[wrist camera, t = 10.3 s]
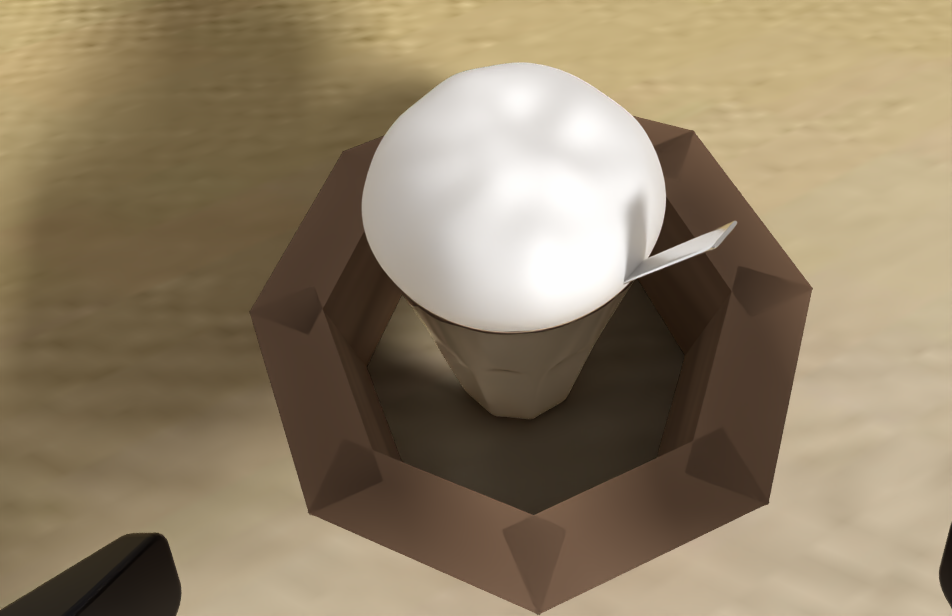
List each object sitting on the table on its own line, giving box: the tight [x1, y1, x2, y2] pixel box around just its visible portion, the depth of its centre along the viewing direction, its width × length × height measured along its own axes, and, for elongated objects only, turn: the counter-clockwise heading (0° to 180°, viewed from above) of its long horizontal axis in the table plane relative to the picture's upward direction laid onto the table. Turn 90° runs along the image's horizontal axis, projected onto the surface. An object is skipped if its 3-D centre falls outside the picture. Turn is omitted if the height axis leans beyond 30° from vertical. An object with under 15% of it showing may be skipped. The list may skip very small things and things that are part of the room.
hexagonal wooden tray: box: [249, 116, 813, 615], centre depth 15 cm, size 11×11×4 cm
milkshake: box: [362, 63, 737, 419], centre depth 12 cm, size 4×5×10 cm
